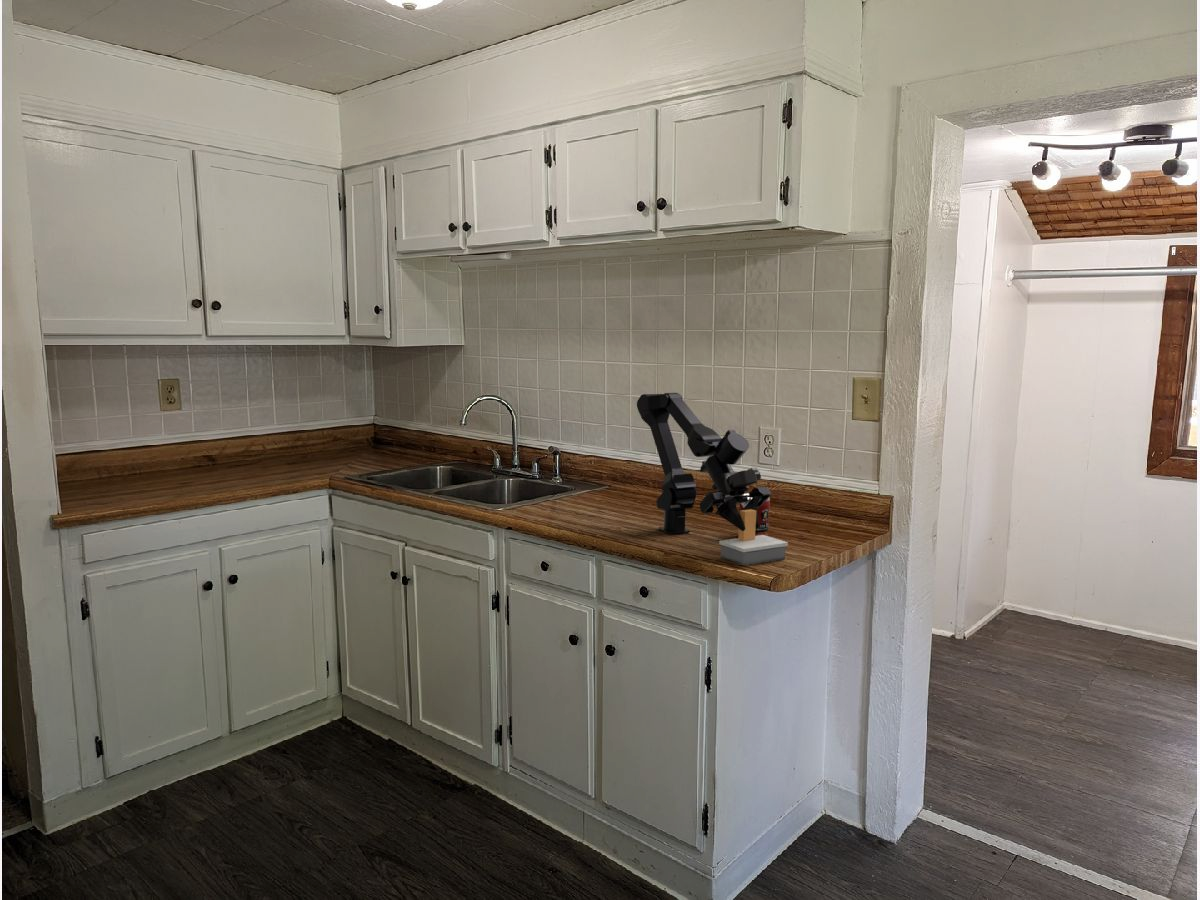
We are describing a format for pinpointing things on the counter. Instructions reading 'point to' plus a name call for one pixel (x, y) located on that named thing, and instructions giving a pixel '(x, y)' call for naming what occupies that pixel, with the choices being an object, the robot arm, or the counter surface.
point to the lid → (751, 536)
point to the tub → (753, 555)
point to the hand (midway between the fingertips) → (751, 529)
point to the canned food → (761, 518)
